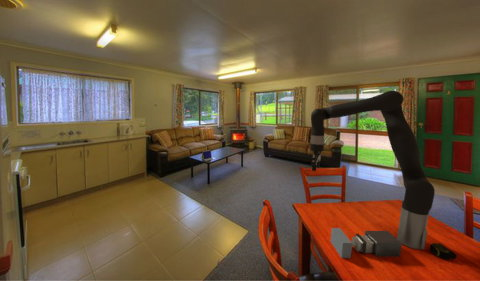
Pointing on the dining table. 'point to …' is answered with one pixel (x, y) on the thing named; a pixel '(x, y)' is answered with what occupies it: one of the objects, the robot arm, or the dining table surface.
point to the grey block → (341, 243)
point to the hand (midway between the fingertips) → (315, 169)
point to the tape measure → (442, 251)
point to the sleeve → (385, 244)
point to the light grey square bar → (363, 243)
